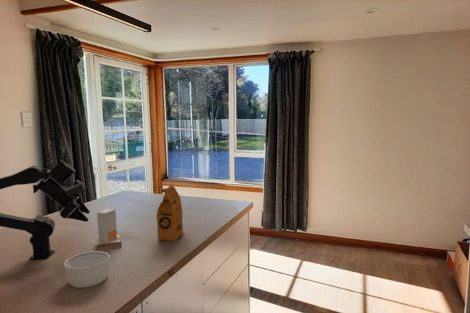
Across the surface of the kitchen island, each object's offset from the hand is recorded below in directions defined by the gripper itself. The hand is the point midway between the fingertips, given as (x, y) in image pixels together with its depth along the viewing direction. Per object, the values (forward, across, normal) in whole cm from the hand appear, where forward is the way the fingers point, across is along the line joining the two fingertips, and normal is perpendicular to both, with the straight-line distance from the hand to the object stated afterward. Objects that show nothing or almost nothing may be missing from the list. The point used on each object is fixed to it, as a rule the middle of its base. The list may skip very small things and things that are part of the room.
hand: (88, 216), depth 129 cm
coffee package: (+31, -2, -15) cm, 34 cm away
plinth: (+14, -2, +3) cm, 15 cm away
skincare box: (+12, -2, +2) cm, 12 cm away
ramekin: (+9, -29, +7) cm, 31 cm away
